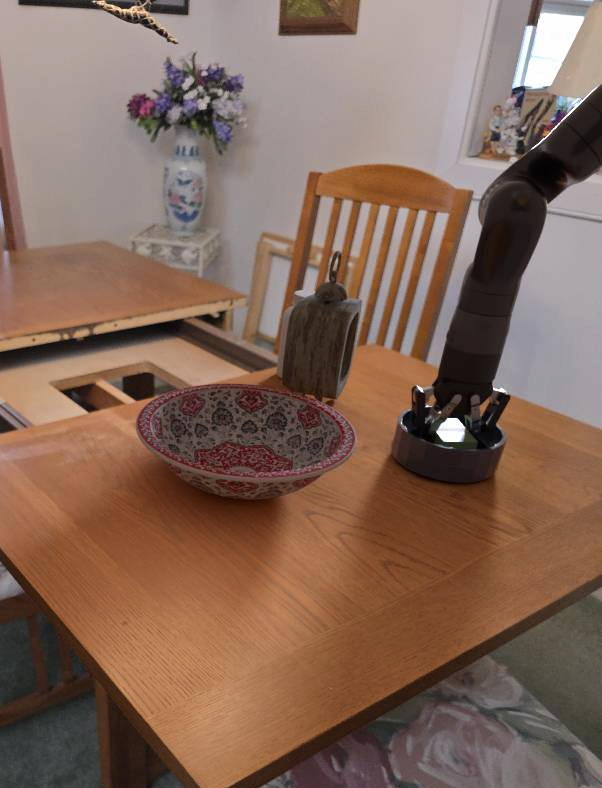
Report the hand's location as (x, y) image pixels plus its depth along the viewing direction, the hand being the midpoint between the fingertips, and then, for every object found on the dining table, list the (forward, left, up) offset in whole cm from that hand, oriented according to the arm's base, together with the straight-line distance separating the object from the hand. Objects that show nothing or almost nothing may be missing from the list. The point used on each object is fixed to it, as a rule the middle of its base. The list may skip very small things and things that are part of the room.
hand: (444, 454), depth 104 cm
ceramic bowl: (+31, +6, -1) cm, 32 cm away
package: (0, 0, 0) cm, 0 cm away
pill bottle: (+16, -33, -1) cm, 37 cm away
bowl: (0, 0, -1) cm, 1 cm away
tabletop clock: (+16, -19, -1) cm, 25 cm away
